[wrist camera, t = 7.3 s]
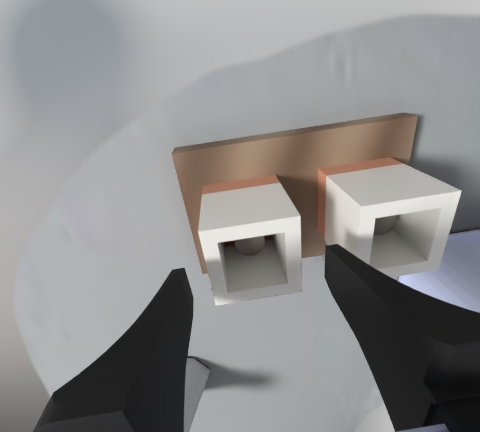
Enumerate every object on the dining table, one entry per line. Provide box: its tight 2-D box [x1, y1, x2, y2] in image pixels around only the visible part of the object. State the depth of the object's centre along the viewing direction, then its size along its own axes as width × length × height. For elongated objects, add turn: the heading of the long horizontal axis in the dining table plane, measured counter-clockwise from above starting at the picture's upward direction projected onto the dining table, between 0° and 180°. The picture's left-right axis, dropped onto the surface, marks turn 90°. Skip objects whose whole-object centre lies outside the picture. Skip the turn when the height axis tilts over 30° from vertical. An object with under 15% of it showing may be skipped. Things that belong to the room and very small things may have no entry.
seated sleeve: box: [318, 157, 462, 277], centre depth 17 cm, size 5×5×6 cm
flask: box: [184, 358, 210, 432], centre depth 26 cm, size 7×7×10 cm
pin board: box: [172, 113, 418, 274], centre depth 18 cm, size 16×10×6 cm, turn 97°
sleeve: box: [198, 175, 302, 305], centre depth 17 cm, size 5×5×6 cm
